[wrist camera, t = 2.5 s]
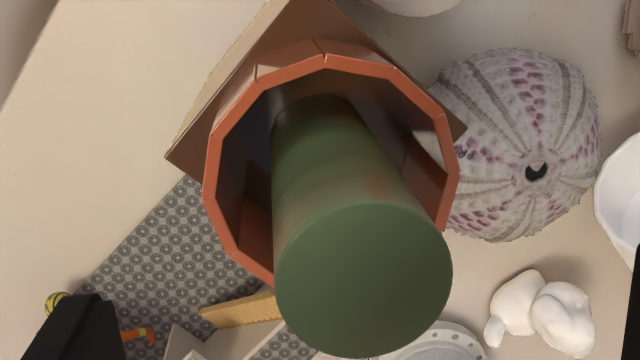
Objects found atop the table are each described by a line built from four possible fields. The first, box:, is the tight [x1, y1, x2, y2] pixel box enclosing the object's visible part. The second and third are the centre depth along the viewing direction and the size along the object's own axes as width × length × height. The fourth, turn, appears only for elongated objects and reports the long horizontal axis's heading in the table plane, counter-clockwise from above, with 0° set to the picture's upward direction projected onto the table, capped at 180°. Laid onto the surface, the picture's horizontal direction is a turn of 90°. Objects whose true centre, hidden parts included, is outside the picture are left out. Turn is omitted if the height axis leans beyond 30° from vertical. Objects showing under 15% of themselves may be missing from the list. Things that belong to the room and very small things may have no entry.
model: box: [162, 283, 287, 360], centre depth 39 cm, size 3×11×8 cm, turn 135°
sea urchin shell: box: [426, 48, 602, 244], centre depth 36 cm, size 13×14×8 cm
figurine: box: [484, 269, 596, 359], centre depth 41 cm, size 5×8×8 cm
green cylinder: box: [270, 95, 453, 359], centre depth 16 cm, size 4×4×10 cm
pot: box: [164, 0, 468, 288], centre depth 27 cm, size 8×8×22 cm
